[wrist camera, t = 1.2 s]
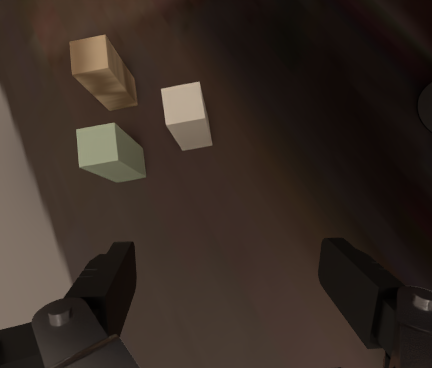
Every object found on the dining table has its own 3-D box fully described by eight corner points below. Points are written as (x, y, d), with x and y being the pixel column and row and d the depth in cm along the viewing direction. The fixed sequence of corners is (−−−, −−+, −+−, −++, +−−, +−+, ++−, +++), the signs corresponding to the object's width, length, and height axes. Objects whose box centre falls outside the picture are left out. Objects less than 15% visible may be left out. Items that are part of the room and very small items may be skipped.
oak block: (134, 79, 43) (105, 34, 34) (137, 105, 43) (108, 67, 33) (106, 84, 44) (69, 41, 34) (109, 110, 43) (72, 74, 33)
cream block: (207, 117, 42) (199, 81, 32) (212, 145, 41) (205, 117, 31) (178, 122, 42) (161, 88, 32) (182, 150, 41) (166, 125, 31)
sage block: (142, 148, 41) (114, 122, 32) (146, 177, 41) (118, 160, 31) (113, 153, 42) (76, 129, 32) (116, 182, 41) (79, 167, 31)
